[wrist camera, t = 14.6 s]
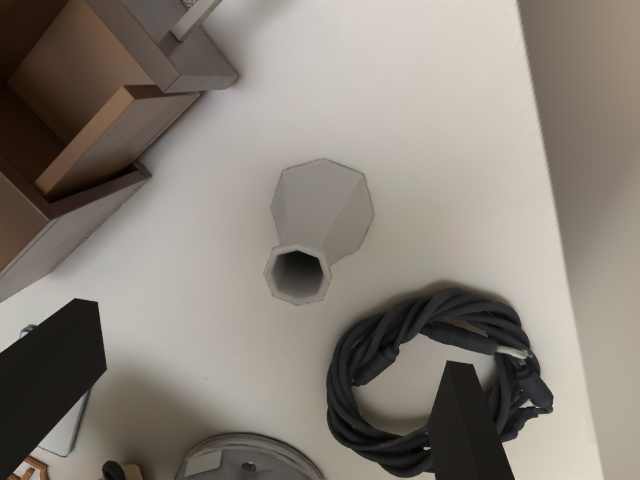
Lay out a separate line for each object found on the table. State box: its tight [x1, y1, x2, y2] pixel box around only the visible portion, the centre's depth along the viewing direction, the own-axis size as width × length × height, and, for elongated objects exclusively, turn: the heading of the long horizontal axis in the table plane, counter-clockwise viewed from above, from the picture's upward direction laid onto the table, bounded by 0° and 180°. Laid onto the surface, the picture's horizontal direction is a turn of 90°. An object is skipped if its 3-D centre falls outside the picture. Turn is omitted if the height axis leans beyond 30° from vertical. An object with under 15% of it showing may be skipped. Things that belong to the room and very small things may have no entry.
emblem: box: [7, 457, 47, 480], centre depth 43 cm, size 12×10×1 cm
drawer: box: [0, 0, 239, 204], centre depth 20 cm, size 18×10×8 cm, turn 129°
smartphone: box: [19, 327, 88, 457], centre depth 37 cm, size 7×1×15 cm
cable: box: [326, 288, 554, 478], centre depth 29 cm, size 17×14×4 cm
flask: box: [263, 159, 374, 306], centre depth 22 cm, size 7×7×10 cm
